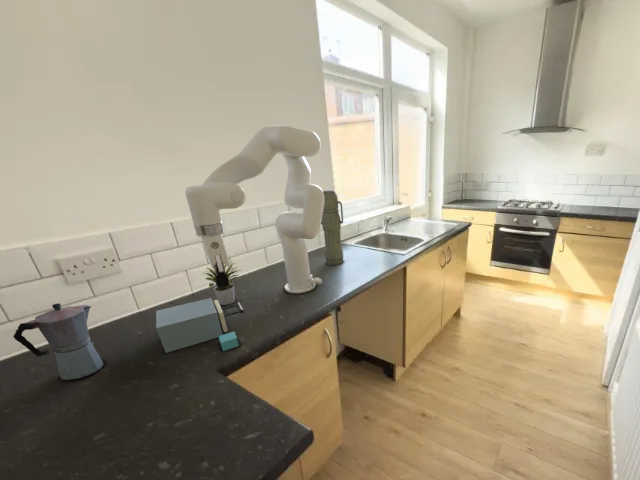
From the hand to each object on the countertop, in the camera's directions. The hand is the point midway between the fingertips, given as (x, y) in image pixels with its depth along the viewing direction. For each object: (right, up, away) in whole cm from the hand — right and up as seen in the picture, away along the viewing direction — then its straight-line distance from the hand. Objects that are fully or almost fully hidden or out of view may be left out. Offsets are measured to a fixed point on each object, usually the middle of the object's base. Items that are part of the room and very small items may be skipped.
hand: (223, 285), depth 102 cm
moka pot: (-31, -24, -15) cm, 42 cm away
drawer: (-5, -14, +2) cm, 15 cm away
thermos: (+26, +12, +60) cm, 67 cm away
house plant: (-9, -7, +20) cm, 23 cm away
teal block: (+5, -18, -6) cm, 20 cm away
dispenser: (-10, -16, 0) cm, 19 cm away
